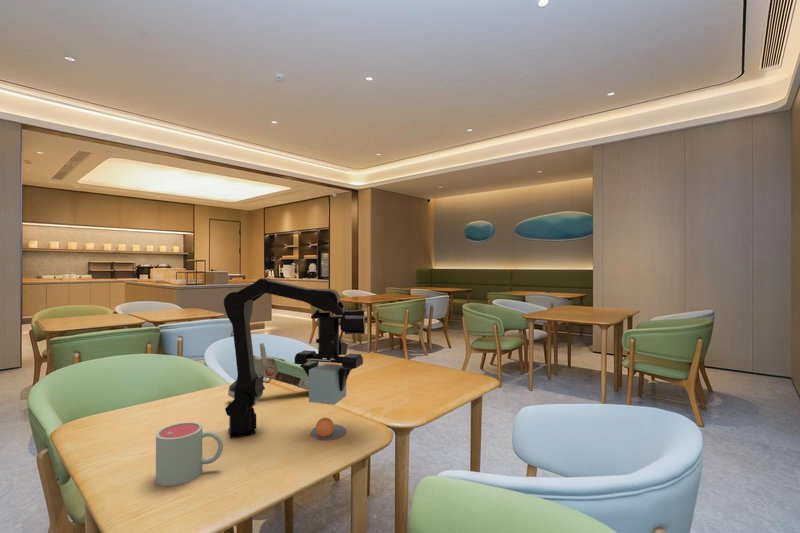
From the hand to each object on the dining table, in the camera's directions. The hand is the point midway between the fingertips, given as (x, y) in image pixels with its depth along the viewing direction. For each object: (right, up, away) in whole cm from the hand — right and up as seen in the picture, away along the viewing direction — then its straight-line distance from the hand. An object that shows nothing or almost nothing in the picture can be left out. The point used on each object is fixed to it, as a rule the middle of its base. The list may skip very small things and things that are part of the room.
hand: (328, 389), depth 113 cm
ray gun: (-22, -12, +30) cm, 39 cm away
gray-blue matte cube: (0, -3, 0) cm, 3 cm away
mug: (-27, -12, -22) cm, 37 cm away
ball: (0, -10, -3) cm, 10 cm away
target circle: (0, -12, 0) cm, 12 cm away
